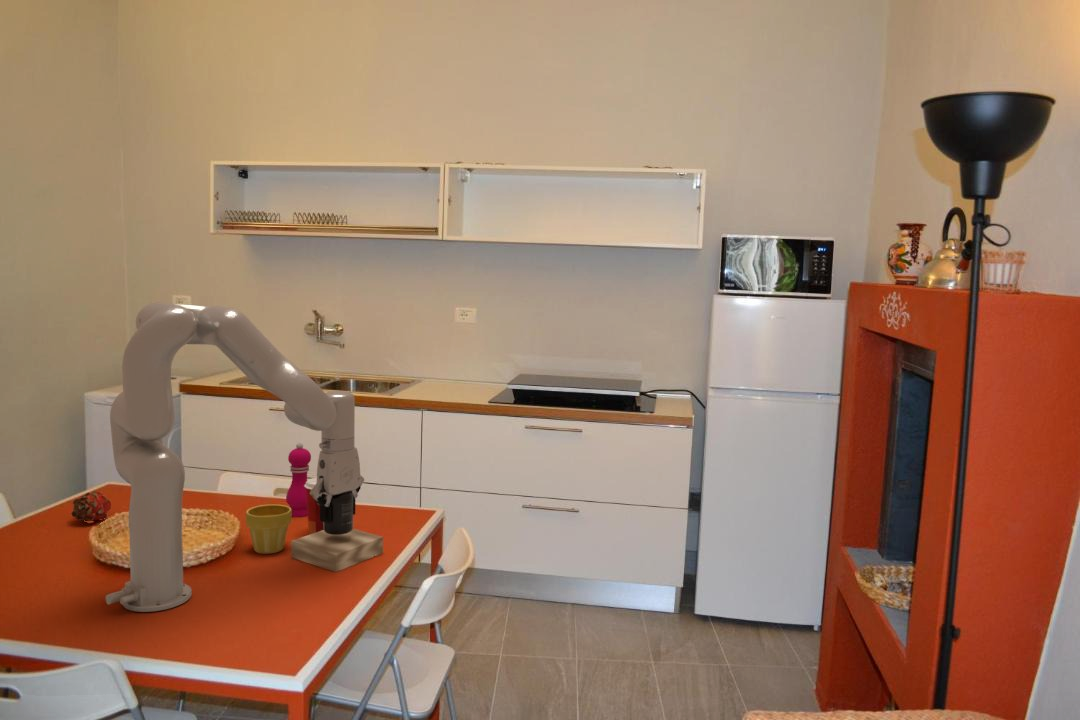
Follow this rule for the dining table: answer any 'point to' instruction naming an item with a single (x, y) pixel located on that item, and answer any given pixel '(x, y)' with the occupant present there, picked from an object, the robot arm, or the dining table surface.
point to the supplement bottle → (340, 514)
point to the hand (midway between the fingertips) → (337, 517)
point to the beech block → (336, 549)
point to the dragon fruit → (91, 507)
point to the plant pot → (268, 527)
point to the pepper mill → (298, 480)
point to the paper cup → (313, 509)
